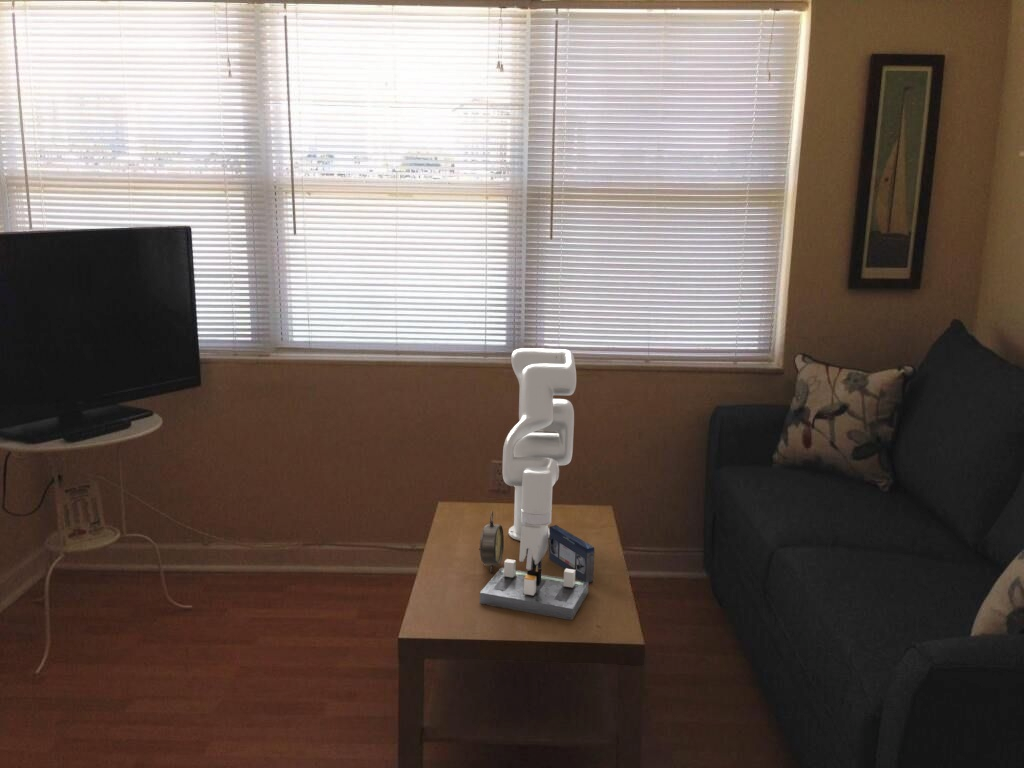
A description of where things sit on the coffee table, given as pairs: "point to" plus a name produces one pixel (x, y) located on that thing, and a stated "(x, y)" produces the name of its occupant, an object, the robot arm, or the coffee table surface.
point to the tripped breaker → (530, 585)
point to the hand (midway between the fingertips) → (533, 583)
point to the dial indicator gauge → (491, 544)
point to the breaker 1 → (509, 568)
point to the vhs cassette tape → (571, 553)
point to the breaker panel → (535, 595)
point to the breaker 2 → (569, 578)
